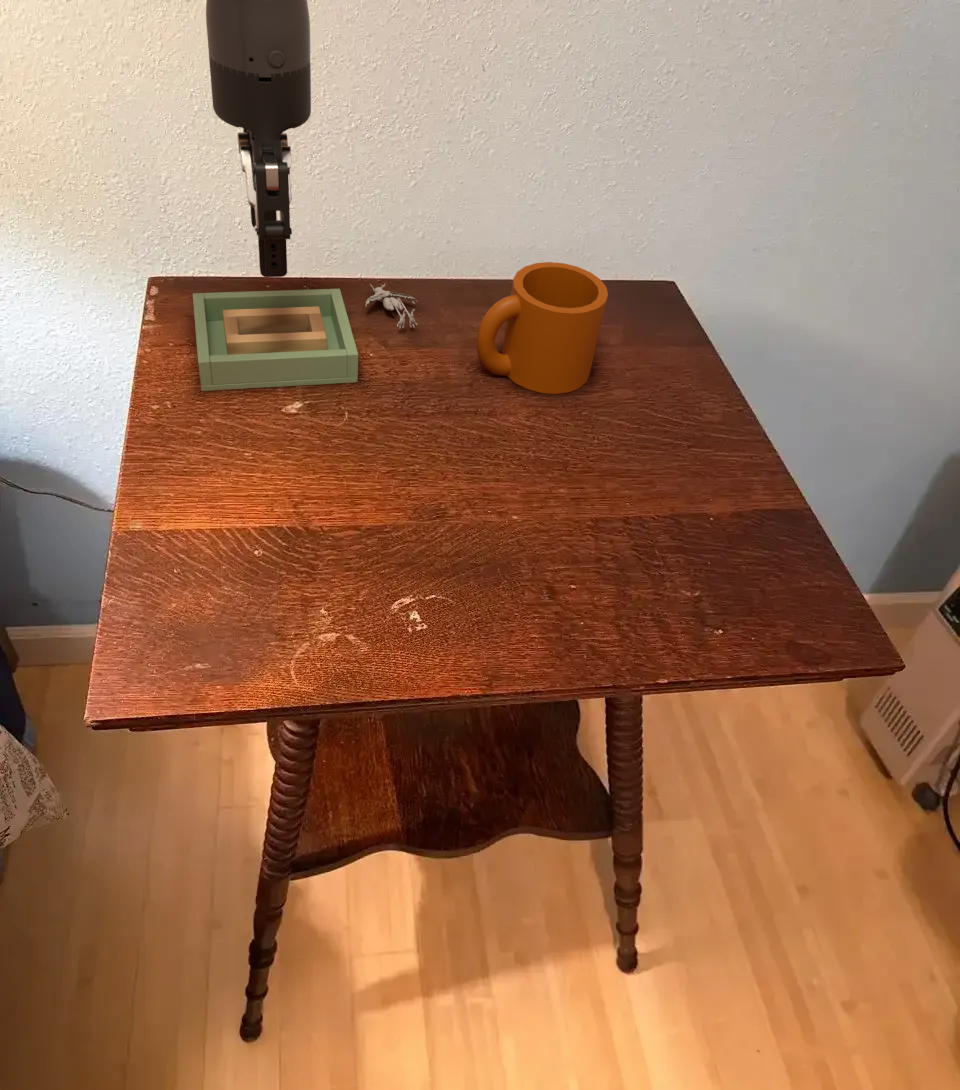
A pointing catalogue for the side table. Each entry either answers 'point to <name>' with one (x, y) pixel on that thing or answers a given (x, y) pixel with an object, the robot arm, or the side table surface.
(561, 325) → the mug
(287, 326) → the frame
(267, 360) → the holder
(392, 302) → the figurine
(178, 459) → the side table surface
